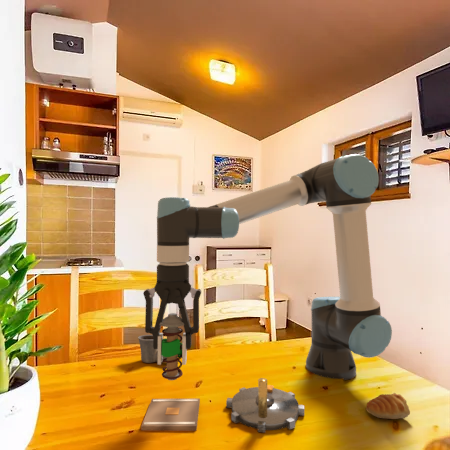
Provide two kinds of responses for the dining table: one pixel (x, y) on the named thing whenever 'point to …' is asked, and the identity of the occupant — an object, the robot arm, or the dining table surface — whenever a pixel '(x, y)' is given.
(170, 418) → the pad
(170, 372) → the shock absorber
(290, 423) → the sprocket
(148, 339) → the pipe
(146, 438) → the dining table surface
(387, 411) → the pastry
